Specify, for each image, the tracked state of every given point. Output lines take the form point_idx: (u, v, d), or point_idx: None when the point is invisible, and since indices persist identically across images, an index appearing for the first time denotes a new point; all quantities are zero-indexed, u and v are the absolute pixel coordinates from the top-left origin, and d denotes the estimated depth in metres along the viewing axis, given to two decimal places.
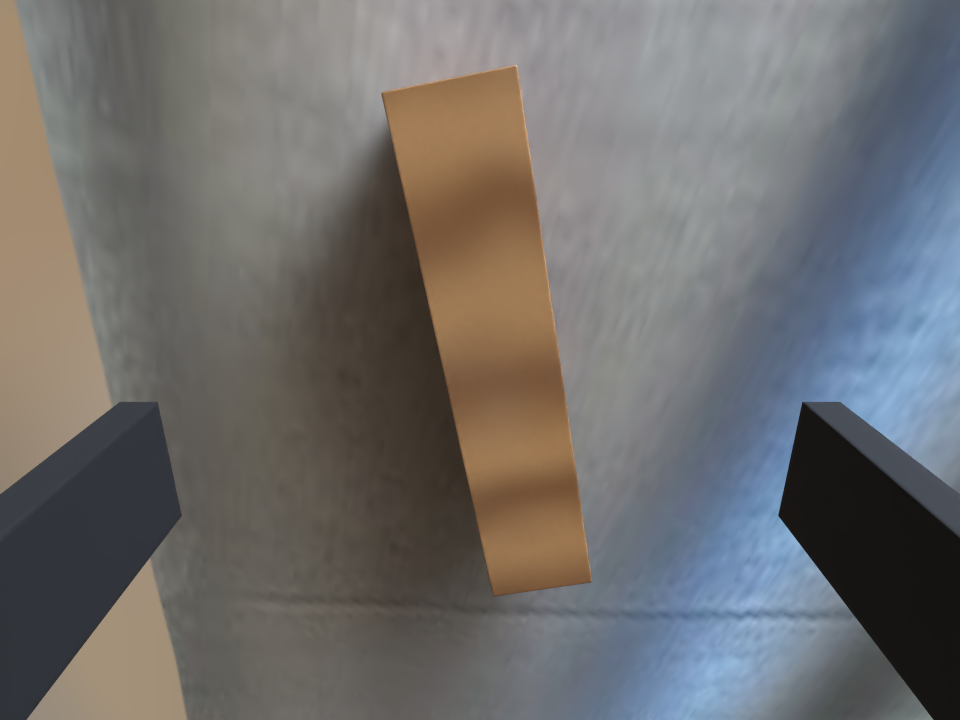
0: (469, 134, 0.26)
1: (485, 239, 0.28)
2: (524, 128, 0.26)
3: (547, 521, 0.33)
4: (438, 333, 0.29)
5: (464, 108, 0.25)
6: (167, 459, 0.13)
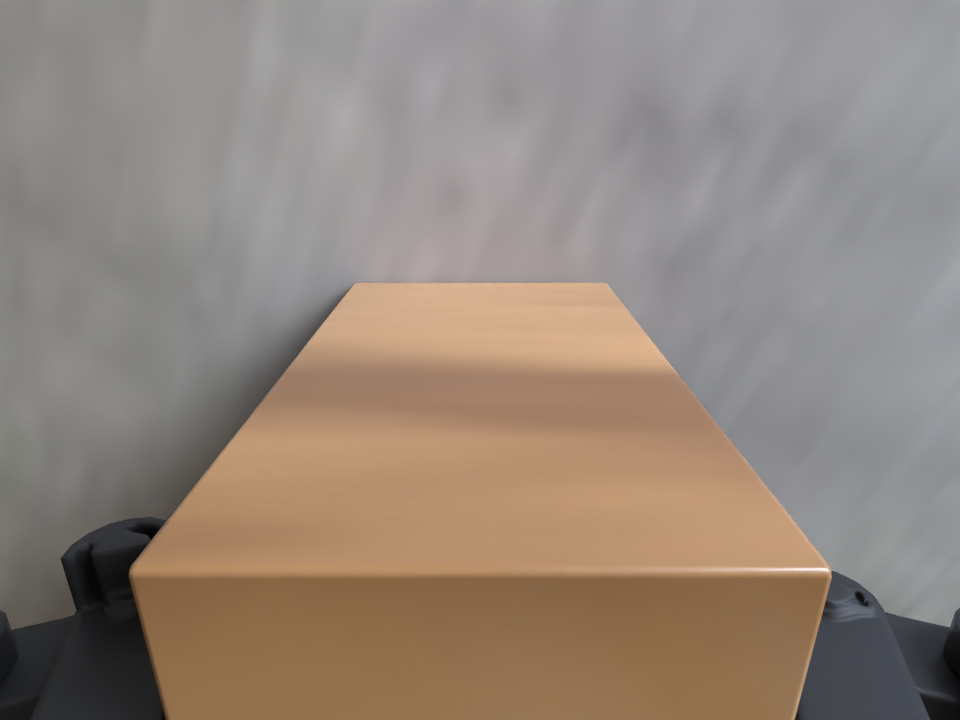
0: None
1: None
2: None
3: None
4: None
5: (529, 683, 0.05)
6: None
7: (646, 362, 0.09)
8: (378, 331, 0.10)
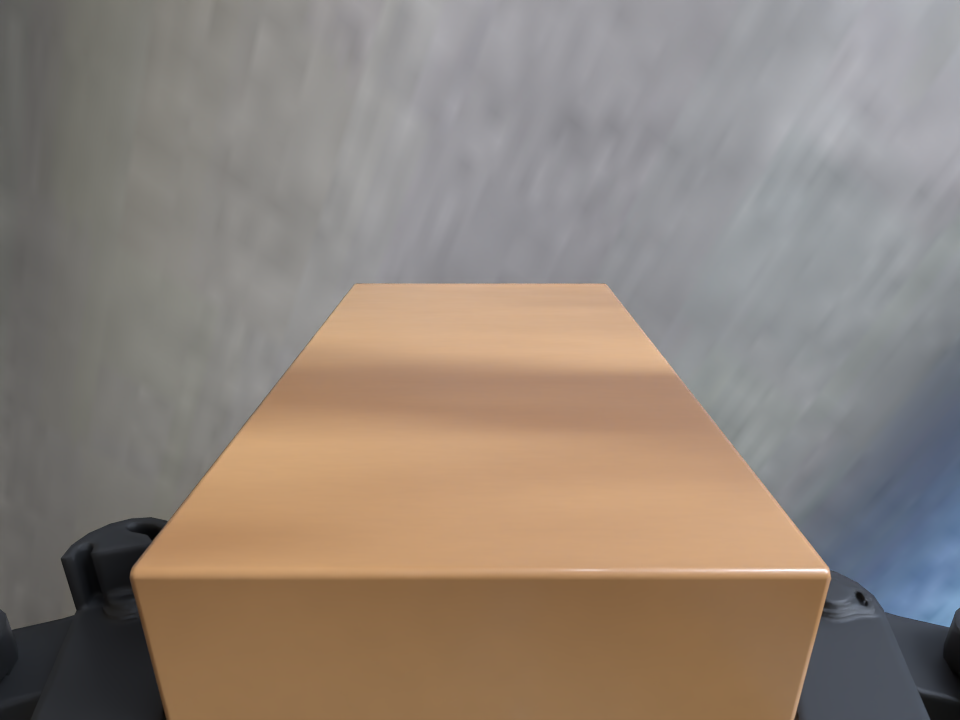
0: None
1: None
2: None
3: None
4: None
5: (530, 685, 0.05)
6: None
7: (646, 363, 0.09)
8: (378, 332, 0.10)
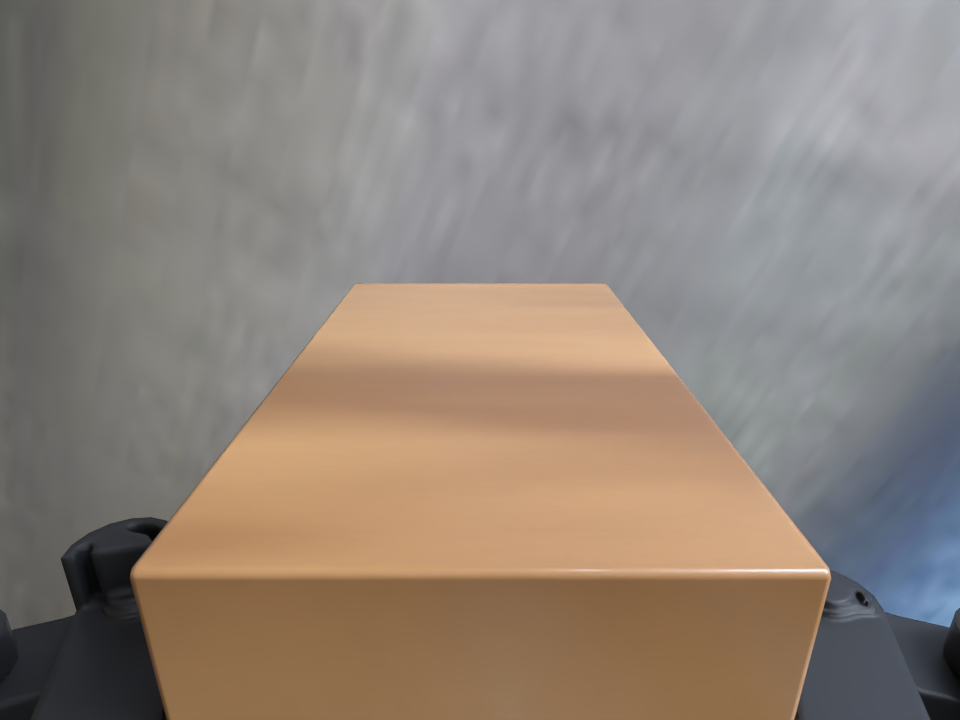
0: None
1: None
2: None
3: None
4: None
5: (529, 685, 0.05)
6: None
7: (646, 363, 0.09)
8: (379, 332, 0.10)
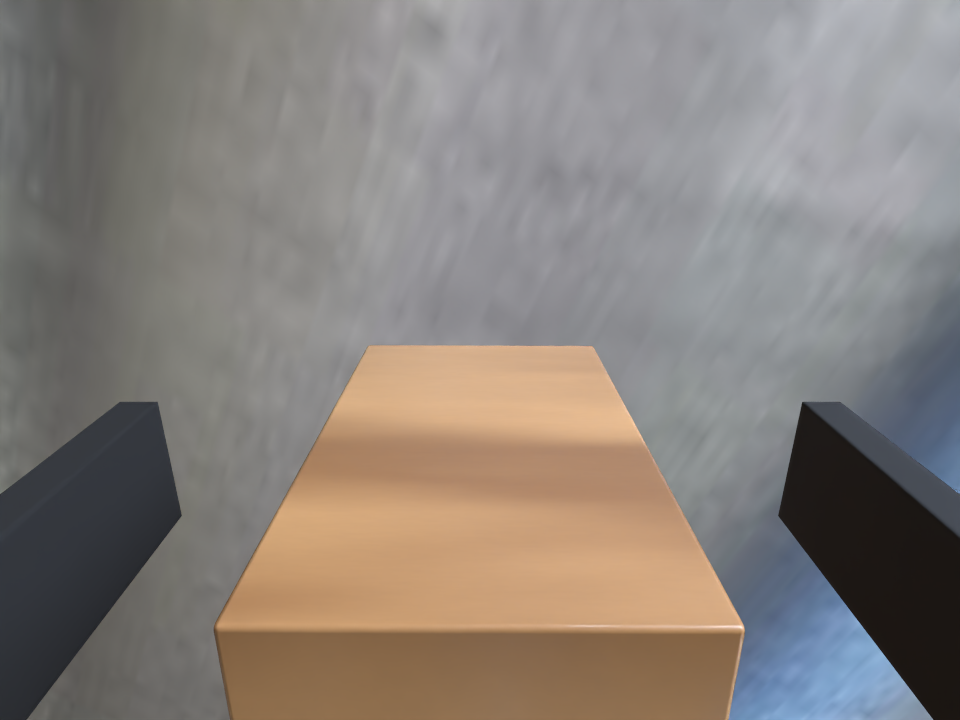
0: None
1: None
2: None
3: None
4: None
5: (517, 714, 0.07)
6: (167, 459, 0.13)
7: (620, 434, 0.11)
8: (393, 400, 0.12)
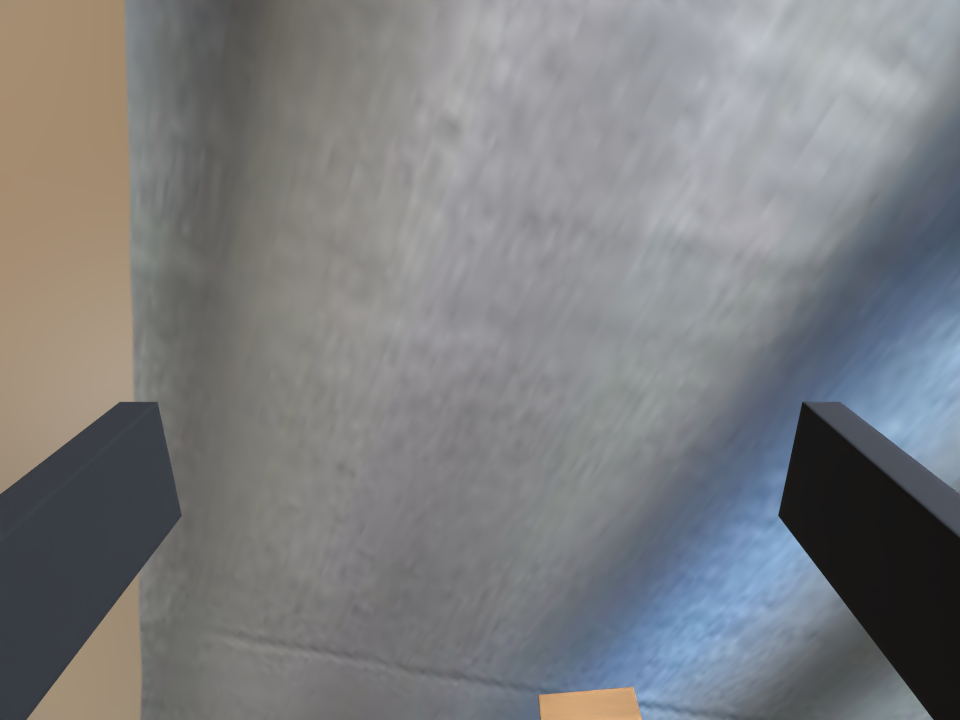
0: None
1: None
2: None
3: None
4: None
5: None
6: (167, 460, 0.13)
7: None
8: None
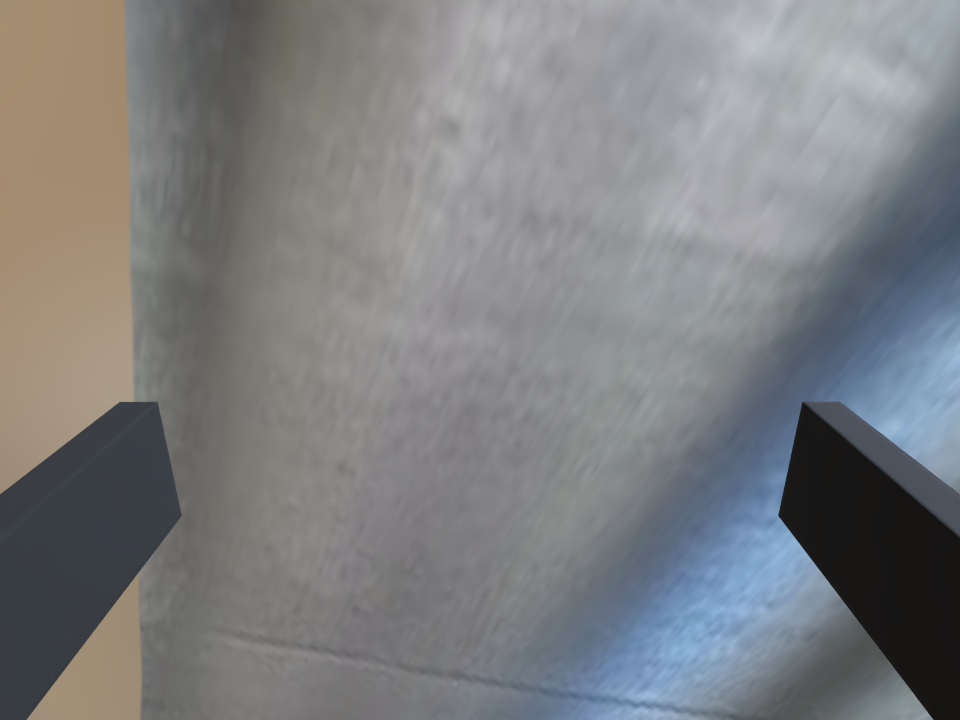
0: None
1: None
2: None
3: None
4: None
5: None
6: (167, 460, 0.13)
7: None
8: None
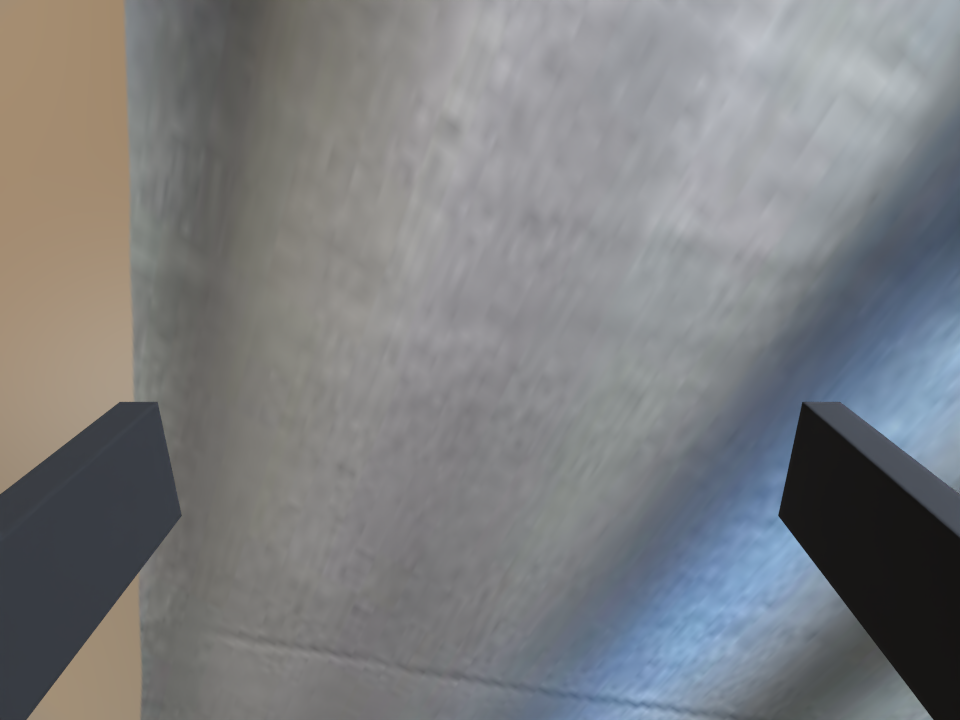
0: None
1: None
2: None
3: None
4: None
5: None
6: (167, 460, 0.13)
7: None
8: None
